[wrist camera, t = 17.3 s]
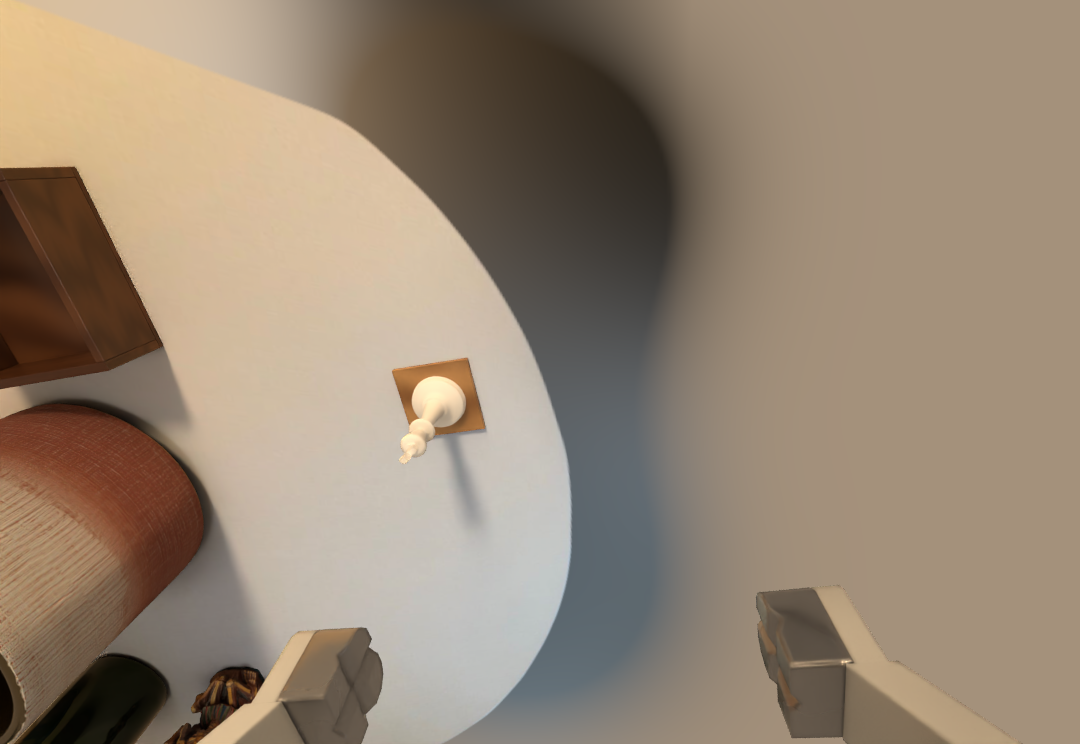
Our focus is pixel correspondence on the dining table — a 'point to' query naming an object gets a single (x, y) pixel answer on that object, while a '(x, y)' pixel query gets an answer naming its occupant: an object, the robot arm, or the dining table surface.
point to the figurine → (220, 702)
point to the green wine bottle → (102, 706)
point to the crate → (62, 283)
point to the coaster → (451, 370)
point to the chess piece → (432, 413)
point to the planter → (80, 545)
